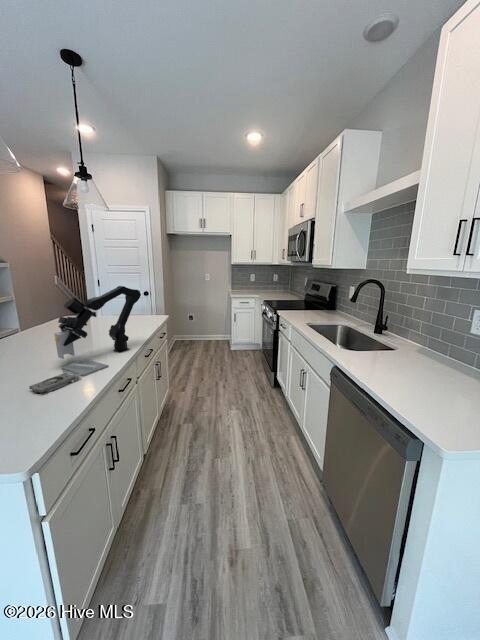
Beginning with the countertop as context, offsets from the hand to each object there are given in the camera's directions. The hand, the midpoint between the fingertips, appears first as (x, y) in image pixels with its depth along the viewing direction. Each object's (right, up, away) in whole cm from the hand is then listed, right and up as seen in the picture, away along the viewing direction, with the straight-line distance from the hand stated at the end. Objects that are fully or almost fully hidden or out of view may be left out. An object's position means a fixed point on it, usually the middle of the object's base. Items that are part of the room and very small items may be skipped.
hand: (61, 344), depth 130 cm
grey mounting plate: (+11, -12, +1) cm, 16 cm away
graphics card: (+8, -17, -16) cm, 24 cm away
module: (+1, -6, +3) cm, 7 cm away
